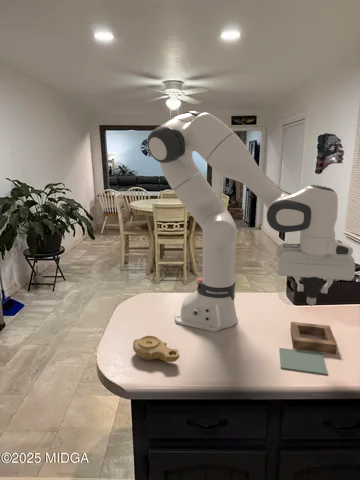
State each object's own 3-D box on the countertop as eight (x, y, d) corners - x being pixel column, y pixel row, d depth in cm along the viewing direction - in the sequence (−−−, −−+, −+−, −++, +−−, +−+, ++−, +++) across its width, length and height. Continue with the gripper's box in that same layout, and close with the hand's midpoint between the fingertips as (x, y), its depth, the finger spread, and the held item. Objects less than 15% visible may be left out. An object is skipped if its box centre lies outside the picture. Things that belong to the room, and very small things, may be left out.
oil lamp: (178, 369, 90) (178, 353, 88) (127, 367, 91) (126, 351, 90) (181, 348, 100) (181, 333, 99) (135, 346, 101) (135, 332, 100)
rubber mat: (280, 368, 90) (280, 367, 89) (279, 348, 99) (279, 347, 99) (328, 375, 87) (328, 373, 86) (322, 354, 96) (322, 353, 96)
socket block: (293, 348, 99) (293, 339, 98) (290, 329, 110) (290, 321, 110) (336, 354, 96) (337, 345, 95) (328, 334, 107) (329, 325, 107)
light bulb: (297, 301, 97) (299, 269, 94) (315, 300, 97) (318, 268, 95) (306, 309, 91) (309, 276, 89) (325, 308, 92) (328, 275, 89)
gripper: (277, 245, 89) (274, 292, 93) (359, 249, 85) (353, 299, 88) (276, 240, 95) (273, 285, 98) (353, 243, 91) (347, 290, 94)
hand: (312, 291), depth 93 cm, fingers closed on light bulb, 5 cm apart
